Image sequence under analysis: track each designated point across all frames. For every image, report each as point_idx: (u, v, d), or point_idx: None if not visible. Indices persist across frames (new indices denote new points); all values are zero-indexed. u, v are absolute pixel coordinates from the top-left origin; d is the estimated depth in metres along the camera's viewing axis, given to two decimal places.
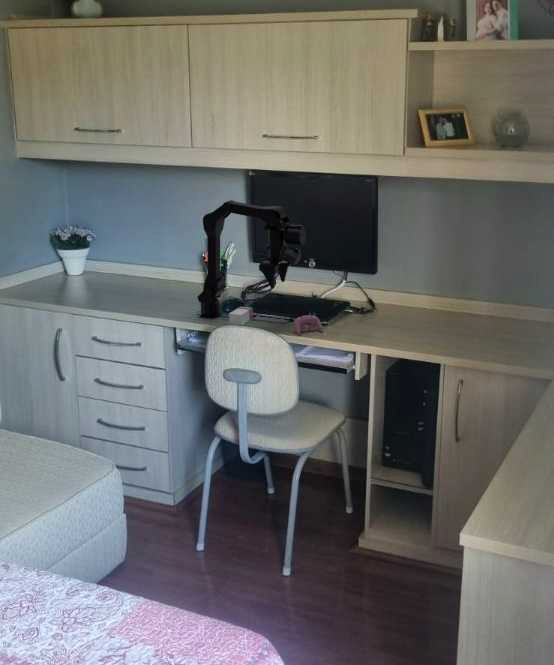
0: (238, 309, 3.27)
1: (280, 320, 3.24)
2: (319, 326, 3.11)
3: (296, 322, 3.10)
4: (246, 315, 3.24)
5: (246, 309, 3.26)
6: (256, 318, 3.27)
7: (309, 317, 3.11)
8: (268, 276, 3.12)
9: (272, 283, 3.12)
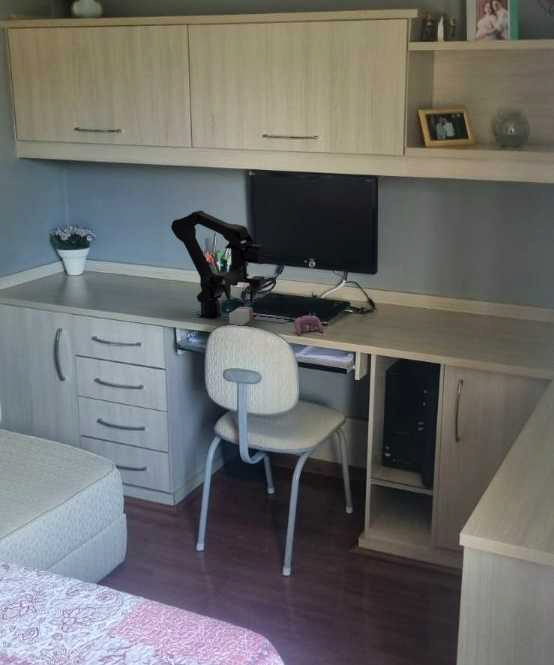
0: (238, 309, 3.27)
1: (280, 320, 3.24)
2: (319, 326, 3.11)
3: (296, 322, 3.10)
4: (246, 315, 3.24)
5: (246, 309, 3.26)
6: (256, 318, 3.27)
7: (309, 317, 3.11)
8: None
9: None
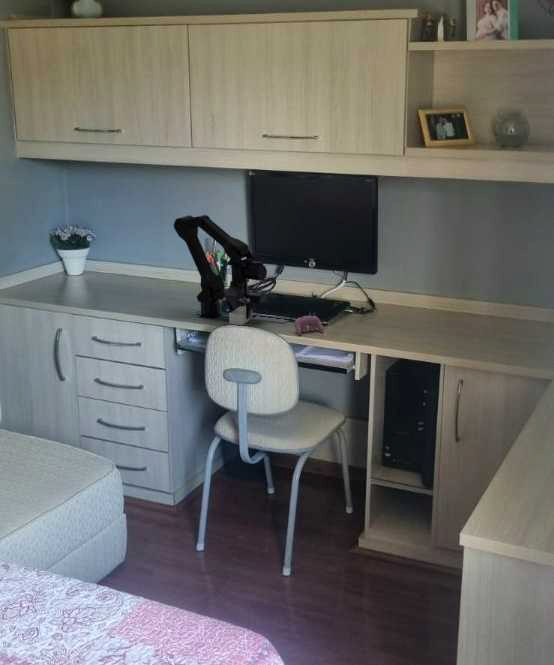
0: (238, 309, 3.27)
1: (280, 320, 3.24)
2: (320, 327, 3.11)
3: (297, 322, 3.10)
4: None
5: None
6: (256, 318, 3.27)
7: (310, 317, 3.11)
8: None
9: None
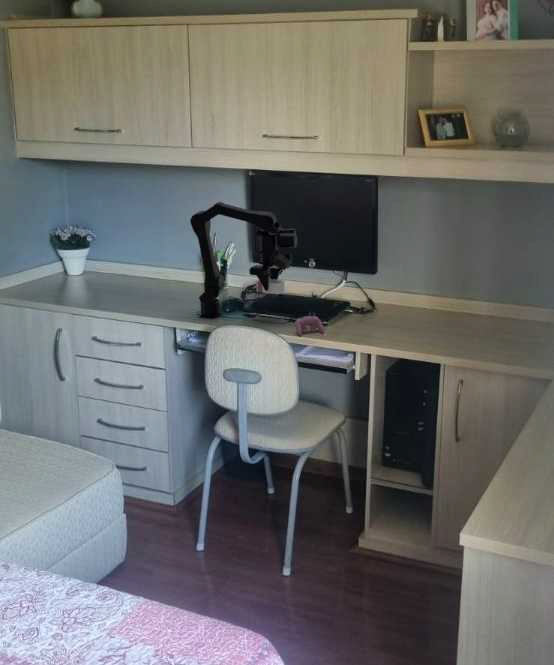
0: None
1: (280, 320, 3.24)
2: (320, 327, 3.10)
3: (297, 323, 3.09)
4: None
5: None
6: (256, 318, 3.27)
7: (310, 318, 3.10)
8: (262, 279, 3.21)
9: (266, 286, 3.21)
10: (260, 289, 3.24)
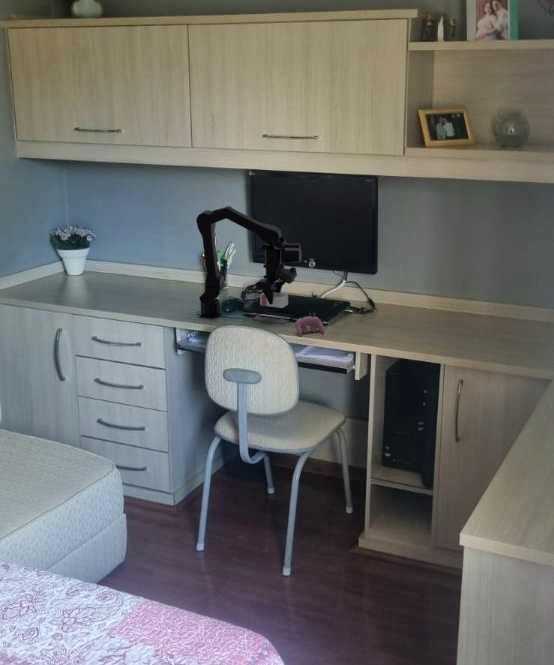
0: None
1: (280, 320, 3.24)
2: (321, 327, 3.10)
3: (297, 323, 3.09)
4: None
5: None
6: (256, 318, 3.27)
7: (311, 318, 3.10)
8: (267, 293, 3.23)
9: (271, 299, 3.24)
10: (264, 303, 3.26)
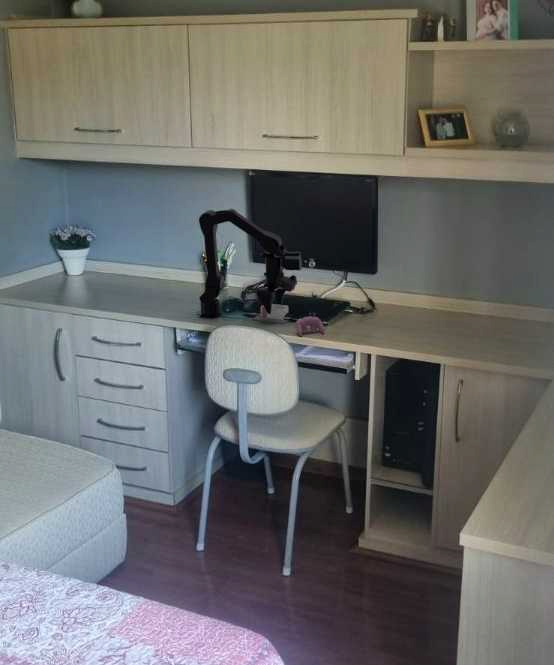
0: None
1: (280, 320, 3.24)
2: (321, 327, 3.10)
3: (298, 323, 3.09)
4: None
5: None
6: (256, 318, 3.27)
7: (311, 318, 3.10)
8: (265, 302, 3.22)
9: (269, 309, 3.23)
10: (264, 315, 3.28)
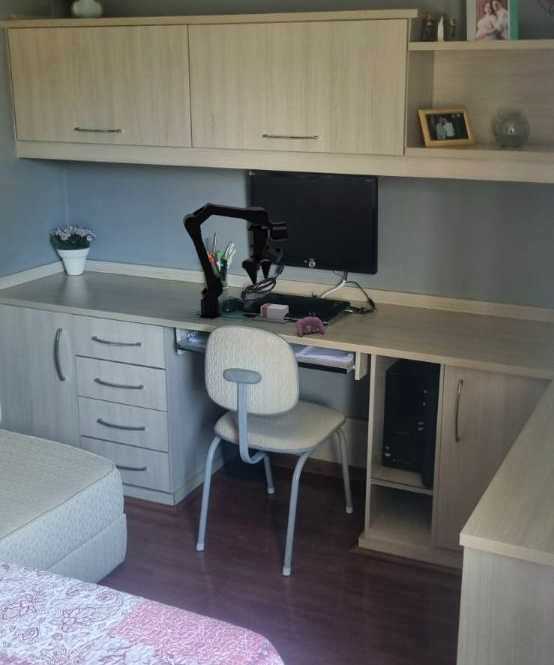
0: (270, 307, 3.27)
1: (280, 320, 3.24)
2: (321, 328, 3.10)
3: (298, 324, 3.08)
4: None
5: (270, 304, 3.30)
6: (256, 318, 3.27)
7: (311, 319, 3.10)
8: (251, 273, 3.27)
9: (254, 280, 3.28)
10: (264, 315, 3.28)
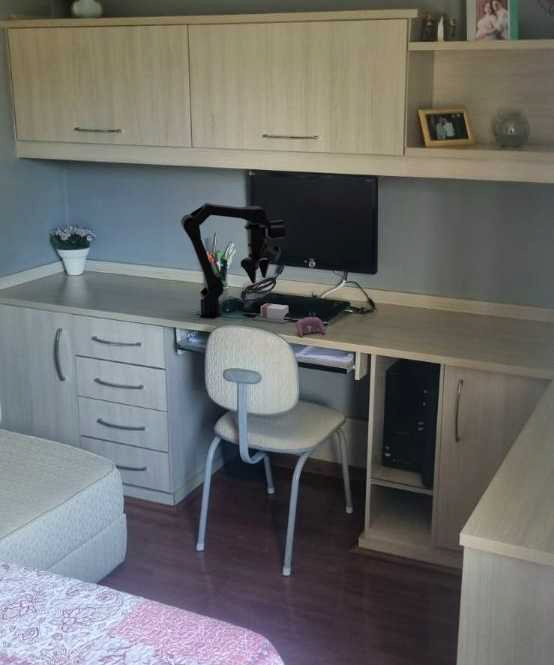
0: (270, 307, 3.27)
1: (280, 320, 3.24)
2: (321, 328, 3.09)
3: (298, 324, 3.08)
4: None
5: (270, 304, 3.30)
6: (256, 318, 3.27)
7: (311, 319, 3.09)
8: (249, 272, 3.28)
9: (253, 279, 3.29)
10: (264, 315, 3.28)
